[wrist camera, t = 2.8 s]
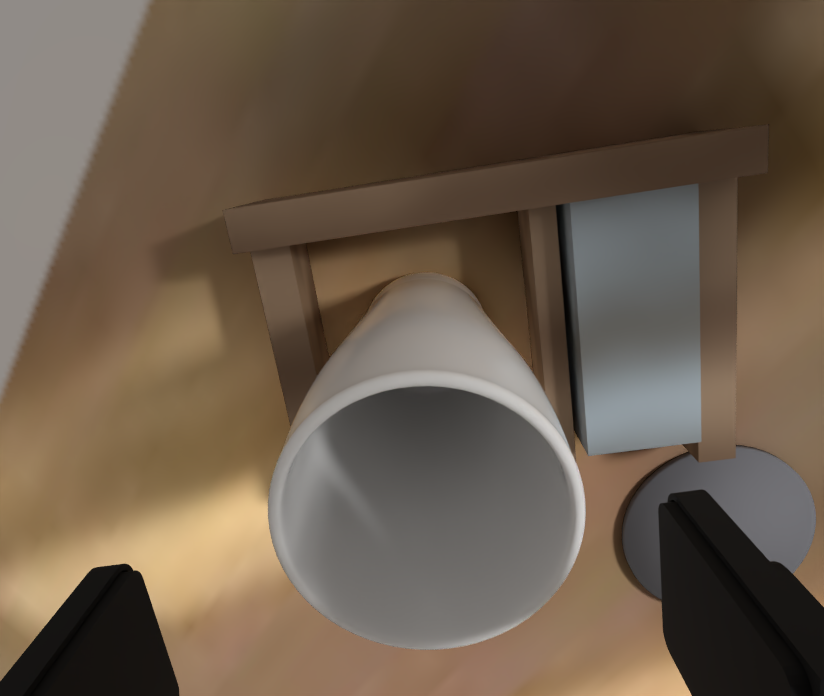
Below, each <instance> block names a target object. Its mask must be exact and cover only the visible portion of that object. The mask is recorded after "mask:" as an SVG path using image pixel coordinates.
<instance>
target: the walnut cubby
mask: <svg viewBox="0 0 824 696" xmlns="http://www.w3.org/2000/svg"><path fill="white" fill-rule="evenodd" d="M768 144H769V124H768V125H758V126H748V127H739V128H729V129H719V130H709V131H700V132H694V133H687V134H681V135H674V136H668V137H662V138H655V139H649V140H643V141H636V142H630V143H624V144H617V145H611V146H605V147H598V148H592V149H586V150H579V151H573V152H567V153H560V154H554V155H547V156H541V157H535V158H528V159H522V160H516V161H509V162H503V163H497V164H490V165H484V166H478V167H471V168H465V169H459V170H452V171H446V172H440V173H433V174H427V175H420V176H414V177H408V178H401V179H395V180H389V181H382V182H376V183H370V184H363V185H357V186H351V187H344V188H338V189H332V190H325V191H319V192H313V193H306V194H300V195H293V196H287V197H281V198H274V199H268V200H262V201H257V202H253V203H249V204H245V205H241V206H237V207H233V208H229V209H225V210H223V214H224V218H225V223H226V227H227V231H228V235H229V239H230V244H231V248H232V252H233V254H237V253H244V252H251V256H252V261H253V265H254V269H255V274H256V278H257V282H258V287H259V291H260V295H261V300H262V304H263V308H264V313H265V317H266V321H267V326H268V330H269V334H270V339H271V343H272V347H273V352H274V356H275V360H276V365H277V369H278V373H279V378H280V382H281V386H282V391H283V395H284V399H285V404H286V408H287V412H288V417H289V421H290V426H291V425H292V423H293V420H294V418H295V416H296V414H297V412H298V410H299V407H300V405H301V403H302V401H303V399H304V397H305V395H306V393H307V392H308V390H309V388H310V386H311V385H312V383H313V381H314V380H315V378H316V377H317V375H318V373H319V372H320V370H321V369H322V367H323V366H324V364H325V363H326V362H327V360H328V359H329V355H328V350H327V345H326V340H325V335H324V330H323V326H322V321H321V316H320V311H319V306H318V301H317V296H316V291H315V286H314V281H313V276H312V271H311V266H310V261H309V256H308V251H307V247H306V243H310V242H316V241H323V240H329V239H336V238H342V237H349V236H356V235H362V234H369V233H375V232H382V231H388V230H395V229H402V228H408V227H415V226H421V225H428V224H435V223H441V222H448V221H454V220H461V219H467V218H474V217H481V216H487V215H494V214H500V213H507V212H513V211H517V213H518V223H519V233H520V243H521V254H522V264H523V274H524V284H525V294H526V304H527V315H528V325H529V335H530V345H531V355H532V365H533V373H534V374H535V376H536V377H537V379H538V381H539V382H540V384H541V386H542V388H543V389H544V391H545V393H546V395H547V397H548V399H549V400H550V402H551V404H552V406H553V408H554V410H555V412H556V415H557V417H558V419H559V421H560V424H561V426H562V429H563V431H564V433H565V436H566V438H567V441H568V443H569V446H570V449H571V451H572V454H573V457H574V459H575V462H576V453H575V441H574V431H575V432H576V434H577V436H578V438H579V440H580V442H581V443H582V445H583V447H584V449H585V451H586V452H587V454H588V456H592V455H600V454H608V453H616V452H624V451H632V450H640V449H648V448H656V447H664V446H672V445H680V444H682V445H683V446H684V447H685V448H686V449H687V450H688V451H689V452H690V454H691V455H692V456H693V457H694V458H695V459H696V460H697V461H698V462H699V463H700V462H709V461H717V460H725V459H733V458H736V341H737V193H738V177H744V176H750V175H757V174H763V173H768Z"/></svg>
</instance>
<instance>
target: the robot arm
mask: <svg viewBox="0 0 824 696" xmlns="http://www.w3.org/2000/svg"><path fill="white" fill-rule="evenodd" d="M658 518H659V543H660V568H661V593H662V618H663V633H664V638H665V641H666V645H667V647H668V650H669V652H670V654H671V656H672V658H673V660H674V662H675V664H676V666H677V668H678V670H679V672H680V673H681V675H682V677H683V679H684V681H685V683H686V685H687V687H688V689H689V691H690V693H691V695H692V696H824V607H823V606H822V605H821V604H820V603H819V602H818V601H817V600H816V599H815V598H814V597H813V595H812V594H811V593H810V592H809V591H808V590H807V589H806V588H805V587H804V586H803V585H802V584H801V582H800V581H799V580H798V579H797V578H796V577H795V576H794V575H793V574H792V573H791V572H790V571H789V569H787V568H786V567H785V566H784V565H783V564H781V563H779V562H776V561H771V562H770V561H769V560H768V559H767V558H766V557H765V556H764V554H763V553H762V552H761V551H760V550H759V549H758V548H757V547H756V545H755V544H754V543H753V542H752V541H751V540H750V539H749V538H748V537H747V535H746V534H745V533H744V532H743V531H742V530H741V529H740V528H739V527H738V525H737V524H736V523H735V522H734V521H733V520H732V519H731V518H730V517H729V515H728V514H727V513H726V512H725V511H724V510H723V509H722V508H721V506H720V505H719V504H718V503H717V502H716V501H715V500H714V499H713V498H712V496H711V495H710V494H709V493H708V492H707V491H705V490H702V489H701V490H693V491H685V492H677V493H671V494H670V495H669V496H668V501H667V503H660V504H659V507H658ZM0 696H179V687H178V683H177V680H176V677H175V674H174V671H173V668H172V665H171V662H170V659H169V656H168V653H167V650H166V647H165V643H164V640H163V637H162V634H161V631H160V628H159V625H158V622H157V619H156V616H155V613H154V610H153V607H152V604H151V601H150V598H149V595H148V592H147V589H146V586H145V583H144V580H143V577H142V575H141V573H140V572H139V571H133V569H132V568H131V567H130V565H128V564H119V565H111V566H103V567H96V568H93V569H92V570H91V571H90V572H89V573H88V574H87V575H86V576H85V577H84V579H83V580H82V581H81V582H80V584H79V585H78V586H77V587H76V589H75V590H74V591H73V592H72V594H71V595H70V596H69V597H68V598H67V600H66V601H65V602H64V603H63V605H62V606H61V607H60V608H59V610H58V611H57V612H56V613H55V615H54V616H53V617H52V618H51V620H50V621H49V622H48V623H47V624H46V626H45V627H44V628H43V629H42V631H41V632H40V633H39V634H38V636H37V637H36V638H35V639H34V641H33V642H32V643H31V644H30V645H29V647H28V648H27V649H26V650H25V652H24V653H23V654H22V655H21V657H20V658H19V659H18V660H17V662H16V663H15V664H14V665H13V667H12V668H11V669H10V670H9V671H8V673H7V674H6V675H5V676H4V678H3V679H2V680H1V681H0Z"/></svg>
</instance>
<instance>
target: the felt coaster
mask: <svg viewBox="0 0 824 696" xmlns="http://www.w3.org/2000/svg"><path fill="white" fill-rule="evenodd" d="M701 489H702V490H705V491H707V492H708V493H709V494H710V495H711V496H712V498H713V499H714V500H715V501H716V502H717V503H718V504H719V505H720V506H721V508H722V509H723V510H724V511H725V512H726V513H727V514H728V515H729V517H730V518H731V519H732V520H733V521H734V522H735V523H736V524H737V525H738V527H739V528H740V529H741V530H742V531H743V532H744V533H745V534H746V535H747V537H748V538H749V539H750V540H751V541H752V542H753V543H754V544H755V545H756V547H757V548H758V549H759V550H760V551H761V552H762V553H763V554H764V556H765V557H766V558H767V559H768V560H769V561H770V562H771V561H776V562H779V563H781V564H783V565H784V566H785V567H786V568H787V569H789V571H790V572H791V573H792V574H793V573H794V572H795V570H796V569H797V568H798V567H799V565H800V564H801V563H802V561H803V559H804V558H805V556H806V554H807V552H808V550H809V548H810V546H811V543H812V540H813V536H814V532H815V525H816V512H815V506H814V501H813V499H812V496H811V493H810V491H809V489H808V487H807V486H806V484H805V482H804V481H803V480H802V478H801V477H800V476H799V475H798V474H797V473H796V472H795V471H794V470H793V469H792V468H791V467H790V466H788V465H787V464H786V463H785V462H783V461H782V460H780V459H779V458H777V457H776V456H774V455H772V454H770V453H767V452H765V451H763V450H759V449H756V448H753V447H747V446H742V445H736V458H733V459H725V460H717V461H709V462H700V463H699V462H698V461H697V460H696V459H695V458H694V457H693V456H692V455H691V454H690V452H687V453H685V454H683V455H680V456H678V457H676V458H674V459H673V460H671V461H669V462H667V463H666V464H664V465H663V466H661V467H660V468H659V469H657V470H656V471H655V472H654V473H653V474H652V475H650V476H649V477H648V478H647V479H646V480H645V481H644V483H643V484H642V485H641V486H640V487H639V488H638V490H637V491H636V493H635V495H634V496H633V498H632V499H631V501H630V504H629V506H628V508H627V510H626V514H625V517H624V521H623V526H622V544H623V550H624V554H625V557H626V560H627V562H628V564H629V566H630V568H631V570H632V572H633V574H634V575H635V577H636V578H637V579H638V581H639V582H640V583H641V584H642V585H643V586H644V587H645V588H646V589H647V590H648V591H649V592H651V593H652V594H653V595H654V596H656V597H658V598H660V599H661V600H662V593H661V568H660V543H659V518H658V507H659V504H660V503H667V501H668V496H669V495H670V494H671V493H677V492H685V491H693V490H701Z"/></svg>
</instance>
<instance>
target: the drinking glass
mask: <svg viewBox="0 0 824 696" xmlns="http://www.w3.org/2000/svg"><path fill="white" fill-rule="evenodd" d="M585 515H586V507H585V494H584V488H583V483H582V479H581V476H580V472H579V469H578V466H577V464H576V462H575V459H574V457H573V454H572V451H571V449H570V446H569V443H568V441H567V438H566V436H565V433H564V431H563V429H562V426H561V424H560V421H559V419H558V417H557V415H556V412H555V410H554V408H553V406H552V404H551V402H550V400H549V399H548V397H547V395H546V393H545V391H544V389H543V388H542V386H541V384H540V382H539V381H538V379H537V377H536V376H535V374H534V373H533V371H532V370H531V369H530V367H529V366H528V364H527V363H526V361H525V360H524V359H523V357H522V356H521V355H520V354H519V352H518V351H517V350H516V349H515V348H514V346H513V345H512V344H511V343H510V342H509V341H508V339H507V338H506V337H505V336H504V335H503V334H502V332H501V331H500V330H499V329H498V328H497V327H496V325H495V324H494V323H493V322H492V321H491V319H490V318H489V317H488V316H487V314H486V313H485V312H484V310H483V308H482V306H481V304H480V302H479V300H478V299H477V298H476V296H475V295H474V294H473V293H472V292H471V291H470V290H469V289H468V288H467V287H466V286H465V285H463V284H462V283H461V282H459V281H457V280H456V279H454V278H452V277H449V276H446V275H443V274H439V273H433V272H419V273H413V274H409V275H406V276H403V277H400V278H398V279H396V280H394V281H393V282H391V283H390V284H388V285H387V286H386V287H385V288H383V289H382V290H381V291H380V292H379V294H378V295H377V296H376V297H375V299H374V300H373V302H372V303H371V305H370V307H369V309H368V311H367V313H366V314H365V315H364V317H363V318H362V319H361V320H360V322H359V323H358V324H357V325H356V326H355V328H354V329H353V330H352V331H351V332H350V333H349V335H348V336H347V337H346V338H345V339H344V341H343V342H342V343H341V344H340V345H339V346H338V348H337V349H336V350H335V351H334V353H333V354H332V355H331V357H330V358H329V359H328V360H327V362H326V363H325V364H324V366H323V367H322V369H321V370H320V372H319V373H318V375H317V377H316V378H315V380H314V381H313V383H312V385H311V386H310V388H309V390H308V392H307V393H306V395H305V397H304V399H303V401H302V403H301V405H300V407H299V410H298V412H297V414H296V416H295V418H294V420H293V423H292V425H291V427H290V430H289V432H288V435H287V437H286V440H285V443H284V446H283V448H282V451H281V454H280V456H279V458H278V460H277V463H276V466H275V469H274V472H273V475H272V479H271V484H270V488H269V498H268V521H269V529H270V534H271V539H272V543H273V546H274V549H275V552H276V555H277V557H278V559H279V562H280V564H281V566H282V568H283V570H284V572H285V573H286V575H287V576H288V578H289V580H290V581H291V583H292V584H293V585H294V587H295V588H296V589H297V591H298V592H299V593H300V594H301V595H302V596H303V597H304V599H305V600H306V601H307V602H308V603H309V604H310V605H311V606H313V607H314V608H315V609H316V610H317V611H318V612H319V613H321V614H322V615H323V616H325V617H326V618H327V619H329V620H330V621H332V622H333V623H335V624H336V625H338V626H340V627H341V628H343V629H345V630H347V631H349V632H351V633H353V634H355V635H358V636H360V637H363V638H365V639H368V640H371V641H374V642H377V643H380V644H385V645H389V646H393V647H399V648H406V649H418V650H438V649H450V648H456V647H462V646H467V645H471V644H475V643H479V642H482V641H485V640H488V639H490V638H493V637H495V636H498V635H500V634H502V633H504V632H506V631H508V630H510V629H512V628H514V627H516V626H517V625H519V624H520V623H522V622H523V621H525V620H526V619H528V618H529V617H531V616H532V615H533V614H534V613H536V612H537V611H538V610H539V609H540V608H541V607H543V606H544V605H545V604H546V603H547V602H548V601H549V600H550V599H551V597H552V596H553V595H554V594H555V593H556V592H557V590H558V589H559V588H560V586H561V585H562V583H563V582H564V581H565V579H566V578H567V576H568V574H569V572H570V570H571V569H572V567H573V565H574V562H575V560H576V557H577V555H578V553H579V549H580V546H581V543H582V539H583V533H584V528H585Z"/></svg>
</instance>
